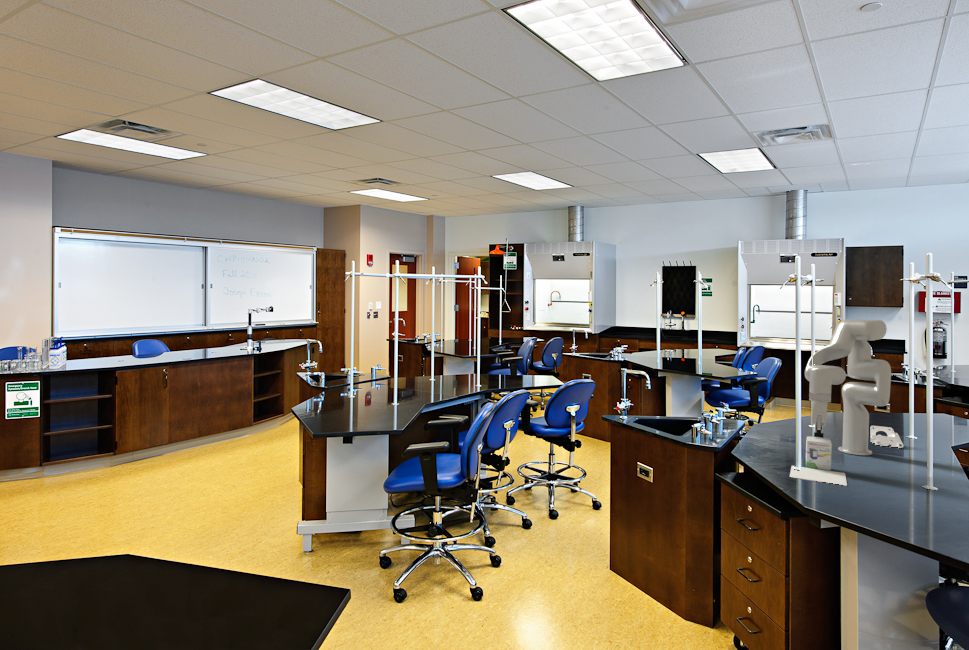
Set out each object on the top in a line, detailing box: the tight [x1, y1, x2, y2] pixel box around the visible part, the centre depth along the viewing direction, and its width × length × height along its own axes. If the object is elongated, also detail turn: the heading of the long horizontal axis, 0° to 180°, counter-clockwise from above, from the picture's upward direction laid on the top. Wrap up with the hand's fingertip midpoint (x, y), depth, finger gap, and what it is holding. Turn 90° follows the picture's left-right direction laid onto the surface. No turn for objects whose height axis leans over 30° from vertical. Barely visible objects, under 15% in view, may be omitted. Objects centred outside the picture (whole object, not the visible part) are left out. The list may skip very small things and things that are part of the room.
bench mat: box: [789, 465, 848, 487], centre depth 205 cm, size 18×18×1 cm
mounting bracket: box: [869, 425, 904, 449], centre depth 256 cm, size 12×6×11 cm, turn 60°
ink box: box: [805, 435, 833, 471], centre depth 214 cm, size 9×5×12 cm, turn 62°
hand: (818, 442), depth 217 cm, fingers closed
